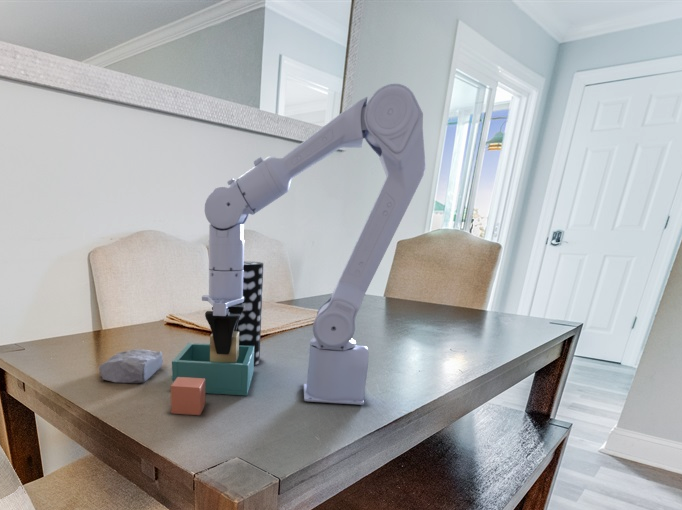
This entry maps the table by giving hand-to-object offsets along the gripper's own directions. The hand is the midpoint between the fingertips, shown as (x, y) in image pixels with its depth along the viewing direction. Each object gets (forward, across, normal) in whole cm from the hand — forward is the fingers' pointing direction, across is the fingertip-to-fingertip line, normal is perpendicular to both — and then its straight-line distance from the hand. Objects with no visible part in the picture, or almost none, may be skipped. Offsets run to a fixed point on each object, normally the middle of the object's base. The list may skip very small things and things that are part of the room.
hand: (225, 349), depth 80 cm
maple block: (+2, 0, 0) cm, 2 cm away
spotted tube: (+7, -16, +1) cm, 17 cm away
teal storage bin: (+7, -2, -2) cm, 7 cm away
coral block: (+7, +12, -4) cm, 14 cm away
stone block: (+7, -4, -19) cm, 21 cm away
